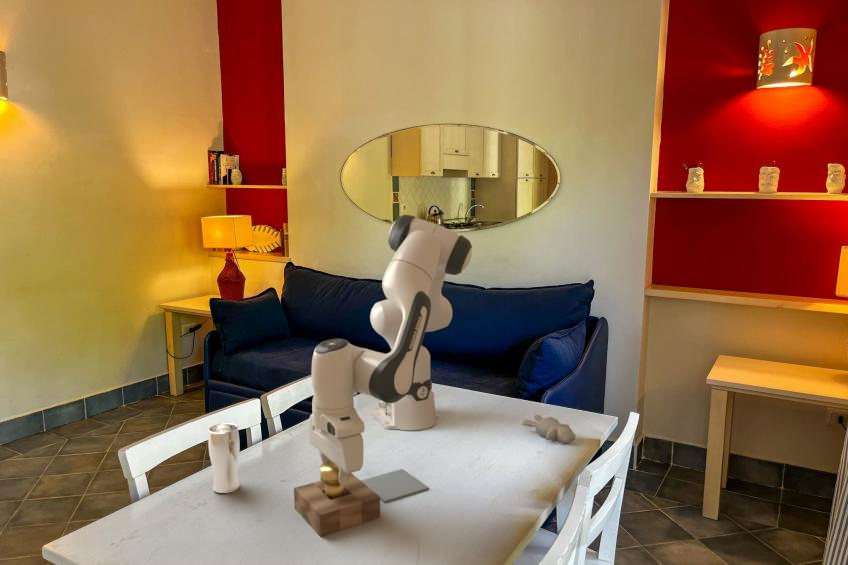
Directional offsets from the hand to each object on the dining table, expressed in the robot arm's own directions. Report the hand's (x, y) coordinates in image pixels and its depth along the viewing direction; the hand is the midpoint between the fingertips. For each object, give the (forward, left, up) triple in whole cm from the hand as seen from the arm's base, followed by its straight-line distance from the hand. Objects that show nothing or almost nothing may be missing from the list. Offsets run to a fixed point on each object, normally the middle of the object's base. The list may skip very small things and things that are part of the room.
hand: (334, 476), depth 136 cm
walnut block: (0, 0, -8) cm, 9 cm away
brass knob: (0, 0, -6) cm, 6 cm away
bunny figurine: (-6, +70, -9) cm, 71 cm away
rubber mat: (-4, +17, -8) cm, 20 cm away
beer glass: (-25, -17, -9) cm, 31 cm away
